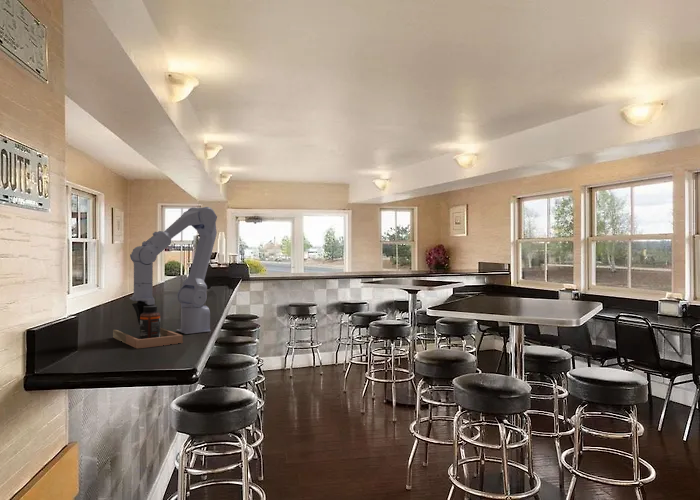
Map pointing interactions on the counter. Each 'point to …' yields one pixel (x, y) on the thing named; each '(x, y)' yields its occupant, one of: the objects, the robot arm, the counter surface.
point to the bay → (149, 339)
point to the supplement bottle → (149, 322)
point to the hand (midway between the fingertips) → (142, 324)
